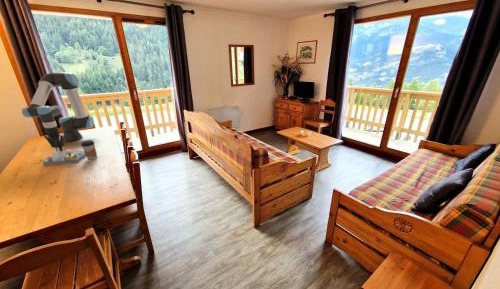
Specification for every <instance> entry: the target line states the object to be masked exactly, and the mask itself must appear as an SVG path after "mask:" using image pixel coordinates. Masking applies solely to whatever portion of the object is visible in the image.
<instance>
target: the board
mask: <svg viewBox="0 0 500 289" xmlns="http://www.w3.org/2000/svg"><path fill="white" fill-rule="evenodd" d="M68 154H77V155H79V156H78V157H77V158H76V159H75V160H73V161H64V158H63V157H65V156H66V155H68ZM50 156H51V157H52V158H53V159H52V160H47V158H45V159H44V160H43V161H42V164H43V166H45V165H46V166H47V165H61V164H76V163H79V162H81V161H82V160H83V159H85V158H87V157H86V155H85V153H84V150H82V151H71V152H70V153H66V151H65V152H64V151H63V155H61V156H59V153H58V152H56V153H55V154H53V155H50Z"/></svg>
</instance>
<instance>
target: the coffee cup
mask: <svg viewBox="0 0 500 289" xmlns="http://www.w3.org/2000/svg"><path fill="white" fill-rule="evenodd" d="M80 145H81V147H82V149H83V150H82V151H84V153H85V155H86V157H85V158H86V159H87V161H89V162H91V161H95V160H97V159H98V155H97V154H98V153H97V150H96V145H95V142H94V141H93V140H91V139H89V140H84V141H81V144H80Z"/></svg>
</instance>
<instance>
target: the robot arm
mask: <svg viewBox="0 0 500 289" xmlns="http://www.w3.org/2000/svg"><path fill="white" fill-rule="evenodd" d="M37 85H38V87H37V90H36V91H35V93H34V95H33V97H32V99H31V102H30V104H28V105H29V106H28V107H27V106H26V107H23V108H21V114H22V115H23V116H24V117H25V118H40V120H41V123H42V125H43V128H44V131H45V134H46V135H44V136H43V137H44V139H46V141H47V142H48V143H49V145H50V146H51V148H55V151H56V152H57V153H59V156H61V155H63V152H64V149H63V148H64V146H65V143H71V142H76V141H80V140H81V139H83V137H84V136H83V134H82V133H81V132H80V130H81V129H84V130H85V129H91V128H93V127H94V116H92V115H90V114H89V113H87V112H86V109H85V107H84V104H83V102H82V99H81V97H80V94H79V92H78V88H79V86H80V80H79V78H78V76H77V75H76V74H74V73H73V72H65V71H64V72H49V73H47V74H45V75H43V76H42V77H41V78H40V79H39V81H38V84H37ZM56 87H61V89H62V90H63V91H65V94H66V96H67V99H68V101H69V103H70V105H71V108H72V111H73V113H74V115H66V116H63V117H60V118H59V119H58V123H59V125H60V128H61V130H62V134H61V133H60V130H59V128H58V124H57V122H56V119H55V117H57V116H59V115H61V114H62V113H63V109H62V107H61V106H60V105H55V104H54V105H51V106H50V105H46V102H47V101H48V98H49V96H50V93H51V91H52V90H54V88H56Z"/></svg>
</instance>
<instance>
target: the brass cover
mask: <svg viewBox="0 0 500 289" xmlns="http://www.w3.org/2000/svg"><path fill="white" fill-rule="evenodd" d="M77 157H78V156H77V154H68V155H66V156H65V157H63V158H64V161H73V160H75V159H76V158H77Z"/></svg>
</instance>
